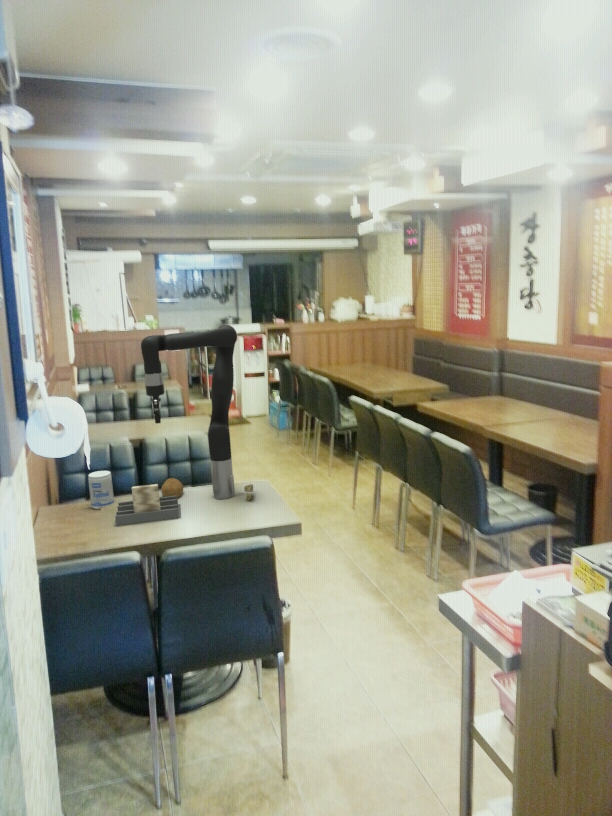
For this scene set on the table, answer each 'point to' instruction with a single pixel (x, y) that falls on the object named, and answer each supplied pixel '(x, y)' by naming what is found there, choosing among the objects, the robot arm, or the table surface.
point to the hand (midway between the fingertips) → (158, 421)
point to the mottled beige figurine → (248, 491)
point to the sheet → (146, 498)
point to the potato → (172, 488)
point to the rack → (167, 512)
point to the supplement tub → (100, 489)
